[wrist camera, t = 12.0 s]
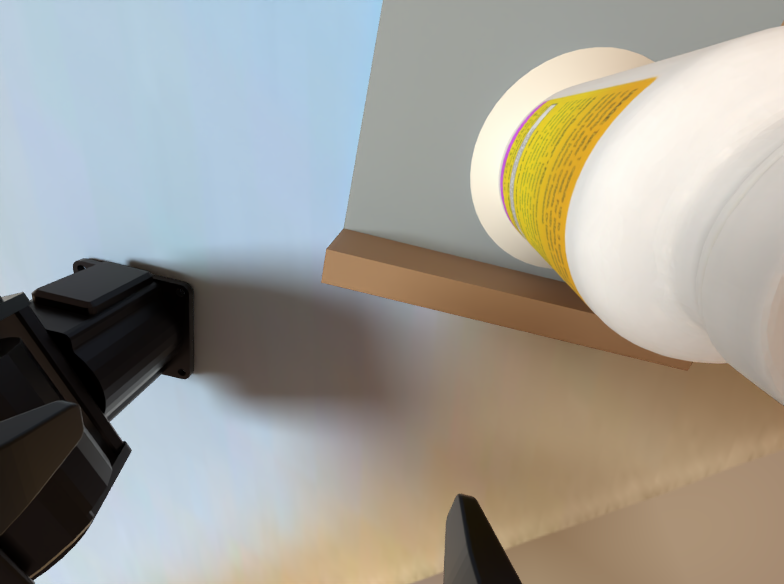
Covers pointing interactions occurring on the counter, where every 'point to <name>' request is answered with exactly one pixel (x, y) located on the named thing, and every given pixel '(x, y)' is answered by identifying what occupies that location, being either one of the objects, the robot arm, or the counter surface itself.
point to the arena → (491, 146)
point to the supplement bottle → (667, 201)
